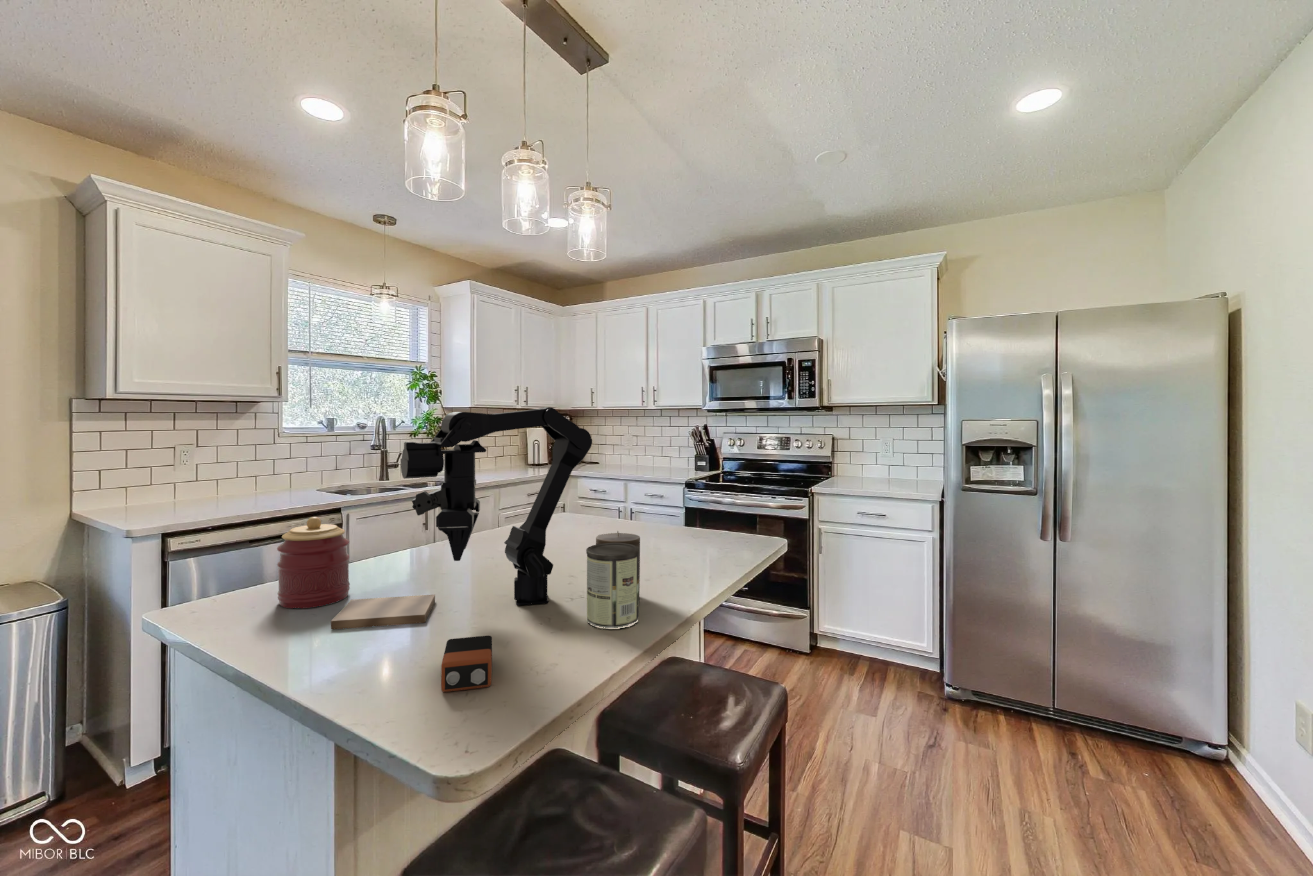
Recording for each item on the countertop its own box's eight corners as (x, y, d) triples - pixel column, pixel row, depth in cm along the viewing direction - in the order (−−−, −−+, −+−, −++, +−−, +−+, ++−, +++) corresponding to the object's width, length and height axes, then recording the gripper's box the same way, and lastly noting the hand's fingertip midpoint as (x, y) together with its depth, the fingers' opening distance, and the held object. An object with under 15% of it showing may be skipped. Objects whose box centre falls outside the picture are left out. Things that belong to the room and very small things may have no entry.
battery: (492, 660, 87) (491, 690, 78) (447, 665, 85) (440, 697, 76) (492, 633, 87) (491, 660, 77) (447, 638, 85) (440, 666, 76)
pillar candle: (629, 609, 111) (631, 536, 111) (586, 603, 115) (588, 532, 114) (645, 595, 121) (647, 528, 120) (605, 590, 124) (606, 525, 123)
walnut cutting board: (435, 601, 115) (435, 594, 114) (424, 622, 103) (424, 614, 103) (351, 607, 111) (351, 599, 111) (331, 629, 99) (330, 621, 99)
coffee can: (602, 607, 112) (603, 540, 112) (647, 615, 108) (648, 545, 107) (575, 625, 103) (575, 551, 102) (623, 634, 99) (624, 557, 98)
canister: (361, 589, 122) (360, 511, 122) (328, 610, 109) (327, 523, 109) (302, 589, 122) (301, 511, 121) (262, 610, 109) (261, 522, 108)
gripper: (424, 471, 113) (424, 545, 114) (405, 481, 95) (405, 569, 96) (480, 471, 116) (480, 543, 117) (471, 480, 98) (471, 566, 98)
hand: (459, 554), depth 107 cm, fingers open, 9 cm apart
